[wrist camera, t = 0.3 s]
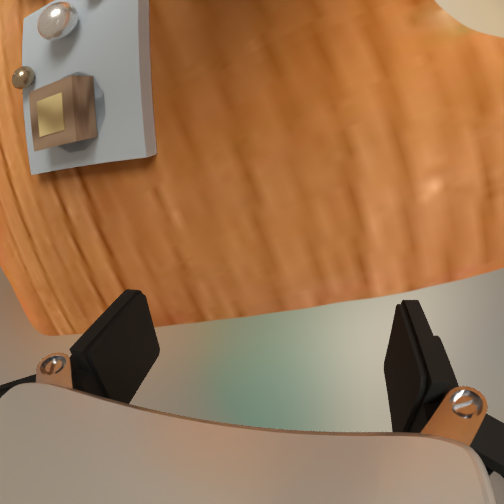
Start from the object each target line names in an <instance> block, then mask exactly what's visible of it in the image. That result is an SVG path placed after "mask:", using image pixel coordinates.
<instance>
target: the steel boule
mask: <svg viewBox="0 0 504 504" xmlns="http://www.w3.org/2000/svg"><path fill="white" fill-rule="evenodd" d="M77 22H78V12H77V10H76V8H75V7H74V6H73V5H72V4H70V3H68V2H57V3H54V4H51V5H50V6H48V7H47V8H46V9H45V10H44V11H43V12H42V13H41V15H40V17H39V19H38V23H37V29H38V32H39V34H40V35H41V37H42V38H44V39H46V40H48V41H58V40H61V39H63V38H65V37H67V36H68V35H69V34H71V33H72V31H73V30H74V29H75V27H76V25H77Z"/></svg>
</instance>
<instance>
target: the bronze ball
mask: <svg viewBox="0 0 504 504" xmlns="http://www.w3.org/2000/svg"><path fill="white" fill-rule="evenodd" d="M33 80H34V71H33V69H32V68H31V67H29V66H22V67H20V68H18V69H17V70H16V71H15V72H14V74H13V76H12V83H13V85H14V87H15V88H17V89H25V88H27V87H29V86H30V85H31V83H32V82H33Z"/></svg>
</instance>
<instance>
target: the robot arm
mask: <svg viewBox="0 0 504 504" xmlns="http://www.w3.org/2000/svg"><path fill="white" fill-rule="evenodd" d="M70 351H71V354H72V355H71V357H70V358H69V357H68V355H66V354H64V353H53V354H50V355H48V356H46V357H45V358H43V359H42V360H41V361H40V362H39V364H38V365H37V369H36V374H35V375H32V376H29V377H25V378H22V379H19V380H16V381H13V382H9V383H6V384H3V385H1V386H0V504H504V423H502V422H500V421H499V420H497V419H495V418H493V417H491V416H490V415H488V414H486V412H487V408H488V406H487V401H486V399H485V397H484V396H483V395H482V394H481V392H479V391H478V390H476V389H474V388H471V387H467V386H460V387H459V386H458V383H457V380H456V377H455V375H454V372H453V369H452V367H451V365H450V361H449V359H448V356H447V354H446V352H445V349H444V346H443V344H442V342H441V339H440V338H439V337H438V336H433V333H432V331H431V329H430V326H429V324H428V321H427V319H426V317H425V314H424V312H423V310H422V307H421V305H420V303H419V301H418V300H403V301H402V303H401V304H397V306H396V310H395V315H394V320H393V325H392V330H391V335H390V340H389V345H388V348H387V354H386V357H385V361H384V374H385V379H386V386H387V392H388V399H389V406H390V413H391V422H392V430H393V432H320V431H319V432H317V431H298V430H284V429H272V428H262V427H252V426H243V425H235V424H228V423H221V422H214V421H208V420H202V419H196V418H191V417H185V416H180V415H175V414H170V413H165V412H160V411H156V410H151V409H147V408H143V407H139V406H134V405H130V404H129V403H130V401H131V399H132V398H133V396H134V395H135V393H136V391H137V390H138V388H139V386H140V385H141V383H142V381H143V380H144V378H145V377H146V375H147V373H148V372H149V370H150V369H151V367H152V365H153V364H154V362H155V361H156V359H157V357H158V356H159V352H160V348H159V344H158V341H157V337H156V333H155V330H154V326H153V322H152V318H151V315H150V311H149V307H148V303H147V299H146V296H145V295H144V294H142V292H141V291H140V290H130V289H127V290H125V291H124V292H123V293H122V294H121V295H120V296H119V297H118V298H117V299H116V300H115V301H114V302H113V303H112V304H111V305H110V306H109V307H108V309H107V310H106V311H105V312H104V313H103V314H102V315H101V316H100V317H99V318H98V319H97V320H96V321H95V322H94V323H93V324H92V325H91V326H90V328H89V329H88V330H87V331H86V332H85V333H84V334H83V335H82V336H81V337H80V338H79V340H77V342H76V343H75V344H74V345H73V346H72V347H71V348H70Z"/></svg>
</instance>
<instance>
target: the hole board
mask: <svg viewBox="0 0 504 504" xmlns="http://www.w3.org/2000/svg"><path fill="white" fill-rule="evenodd" d="M57 2H68V3H70V4H72V5H73V6H74V7H75V8H76V10H77V12H78V22H77V25H76V27H75V29H74V30H73V31H72V33H71V34H69V35H68V36H67V37H65V38H63V39H61V40H58V41H48V40H46V39H44V38H42V37H41V35H40V34H39V32H38V29H37V23H38V19H39V17H40V15H41V13H42V12H43V11H44V10H45V9H46V8H47V7H48V6H50V5H51V4H54V3H57ZM22 66H29V67H31V68H32V69H33V71H34V80H33V82H32V83H31V85H30V86H29V87H27V88H25V89H23V106H24V120H25V131H26V140H27V148H28V156H29V163H30V169H31V175H34V174H39V173H45V172H50V171H56V170H61V169H67V168H73V167H79V166H86V165H92V164H99V163H106V162H114V161H121V160H130V159H138V158H147V157H150V156H153V155H156V154H157V146H156V135H155V124H154V112H153V98H152V83H151V63H150V35H149V0H55V1H53V2H51V3H49V4H47V5H46V6H44V7H42V8H40V9H39V10H37V11H35V12H34V13H32V14H30V15H29V16H27V17H26V18H24V25H23V45H22ZM71 75H78V76H93V86H94V102H95V114H96V125H97V135H98V137H95V138H90V139H85V140H81V141H76V142H72V143H67V144H63V145H59V146H55V147H51V148H47V149H43V150H39V151H35V152H34V146H33V138H32V129H31V118H30V104H29V92H32V91H34V90H36V89H38V88H41V87H43V86H46V85H48V84H50V83H53V82H55V81H58V80H60V79H63V78H66V77H68V76H71Z"/></svg>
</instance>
